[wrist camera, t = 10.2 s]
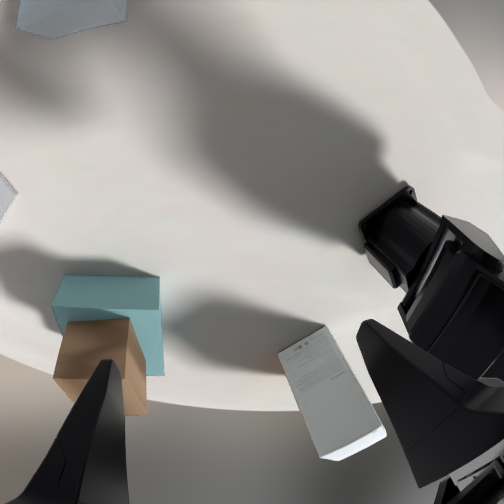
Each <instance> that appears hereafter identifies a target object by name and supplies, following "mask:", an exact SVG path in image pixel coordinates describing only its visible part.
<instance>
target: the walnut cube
mask: <svg viewBox="0 0 504 504" xmlns="http://www.w3.org/2000/svg"><path fill="white" fill-rule="evenodd" d="M109 358H111V359H113V360H114V361H115V363H116V365H117V367H118V369H119V371H120V373H121V378H122V391H123V402H124V412H125V416H140V415H141V416H143V415H147V404H146V403H147V402H146V359H145V357H144V354H143V352H142V349H141V347H140V344H139V342H138V339H137V336H136V334H135V331H134V328H133V326H132V323H131V320H130V318H122V319H108V320H91V321H69V322H67V326H66V329H65V332H64V336H63V339H62V343H61V347H60V351H59V354H58V358H57V362H56V367H55V371H54V375H53V379H54V380H55V381H56V383H57V384H58V385H59V386H60V387H61V389H62V390H63V391H64V392H65V393H66V395H67V396H68V397H69V398H70V399H71V400H72V401H73V402H74V404H75V402H76V400H77V398H78V397H79V395H80V393H81V392H82V390H83V388H84V386H85V385H86V383H87V381H88V380H89V378H90V377H91V375H92V373H93V372H94V370H95V368H96V367H97V365H98V364H99V362H100V360H102V359H109Z"/></svg>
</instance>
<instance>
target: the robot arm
mask: <svg viewBox="0 0 504 504" xmlns="http://www.w3.org/2000/svg"><path fill="white" fill-rule="evenodd" d="M364 225H365V226H364ZM358 227H359V230H360V232H361V234H362V237H363V239H364V242H365V244H364V249H365V252H366V254H367V257H368V259H369V261H370V264H371V265H372V266H373V267H374V268H375V269H376V270H377V271H378V272H379V273H380V274H381V275H382V276H383V278H384V279H385V280H386V281H387V282H388V283H389V284H390V285H391V286H392V287H393V288H398V287H399V286H400V287H401V288H402V289H403V290H404V291H405V292H406V295H405V297H404V299H403V301H402V302H400V304H399V306H398V311H399V313H400V315H401V318H402V320H403V322H404V325H405V327H406V329H407V332H408V334H409V339H410V340H411V342H412V343H411V342H410V341H408V340H406V339H405V338H403V337H401V336H400V335H398V334H397V333H395V332H393V331H392V330H390V329H388V328H387V327H385V326H383V325H382V324H380V323H378V322H377V321H375V320H373V319H369V320H365V321H363V322H362V323H361V326H360V328H359V330H358V333H357V336H356V339H357V343H358V345H359V348H360V351H361V354H362V356H363V359H364V362H365V365H366V368H367V370H368V373H369V375H370V377H371V379H372V381H373V383H374V386H375V388H376V390H377V392H378V394H379V396H380V398H381V401H382V403H383V405H384V407H385V409H386V411H387V414H388V416H389V418H390V420H391V423H392V425H393V427H394V429H395V432H396V434H397V436H398V439H399V441H400V443H401V445H402V448H403V450H404V453H405V456H406V458H407V460H408V462H409V465H410V468H411V470H412V473H413V475H414V477H415V480H416V483H417V485H418V487H419V488H422V487H424V486H426V485H428V484H430V483H432V482H435V481H437V480H439V479H440V478H442V477H444V476H446V475H448V474H449V476H448V477H447V478H446V479H444V480H443V481H442V482H440V484H439V488H438V492H437V495H436V498H435V501H434V504H504V387H491V386H488V385H485V384H483V383H481V382H479V381H478V380H479V379H480V378H489V379H498V380H500V381H501V382H503V383H504V255H503V254H502V252H501V251H500V250H499V248H498V247H497V246H496V244H495V243H494V242H493V240H492V239H491V238H490V237H489V235H488V234H486V233H485V232H484V231H482V230H480V229H479V228H477V227H476V226H474V225H473V224H471V223H469V222H467V221H464V220H460V219H457V218H453V217H449V216H446V215H442V218H441V217H440V216H438V215H437V214H435V213H434V212H432V211H431V210H429V209H428V208H426V207H425V206H423V205H422V204H420V203H419V202H417V198H416V194H415V190H414V188H413V187H411V186H406V187H405V188H404V189H403V190H401V191H400V192H399V193H397V194H396V195H395V196H394V197H392V198H391V199H390V200H388V201H387V202H386V203H384V204H383V205H382V206H380V207H379V208H378V209H376V210H375V211H374V212H372V213H371V214H370V215H368V216H367V217H366V218H364V219H363V220H362V221H361V222H360V223H359V226H358ZM125 447H126V446H125V412H124V402H123V391H122V378H121V373H120V371H119V369H118V367H117V365H116V363H115V361H114V360H113V359H111V358H109V359H102V360H100V362H99V364H98V365H97V367H96V368H95V370H94V372H93V373H92V375H91V377H90V378H89V380H88V381H87V383H86V385H85V386H84V388H83V390H82V392H81V393H80V395H79V397H78V398H77V400H76V402H75V404H74V406H73V407H72V409H71V411H70V413H69V414H68V416H67V418H66V420H65V422H64V423H63V425H62V427H61V429H60V431H59V432H58V434H57V438H55V440H54V442H53V444H52V446H51V447H50V449H49V451H48V453H47V455H46V457H45V458H44V460H43V461H42V463H41V465H40V466H39V468H38V469H37V471H36V472H35V474H34V475H33V477H32V479H31V480H30V482H29V483H28V485H27V486H26V488H25V489H24V491H23V492H22V493H21V494H20V495H19V496H18V497H16V498H15V499H13V500H11V501H9V502H7V503H5V504H129V493H128V483H127V468H126V448H125Z"/></svg>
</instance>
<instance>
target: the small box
mask: <svg viewBox="0 0 504 504" xmlns="http://www.w3.org/2000/svg"><path fill="white" fill-rule="evenodd" d="M277 355H278V358H279V360H280V363H281V365H282V368H283V370H284V373H285V375H286V377H287V380H288V382H289V385H290V387H291V390H292V392H293V395H294V397H295V400H296V402H297V405H298V407H299V410H300V412H301V414H302V417H303V419H304V422H305V424H306V427H307V429H308V431H309V434H310V436H311V439H312V441H313V444H314V446H315V449H316V451H317V454H318V456H319V458H324V459H330V460H335V461H339V460H342V459H344V458H346V457H348V456H350V455H352V454H354V453H356V452H358V451H360V450H362V449H364V448H366V447H368V446H370V445H372V444H374V443H376V442H377V441H379V440H381V439H383V438H385V437H386V436H387V435H386V430H385V428H384V427H383V425H382V423H381V421H380V419H379V417H378V416H377V414H376V412H375V410H374V408H373V406H372V404H371V403H370V401H369V399H368V397H367V395H366V394H365V392H364V390H363V388H362V386H361V385H360V383H359V381H358V379H357V377H356V376H355V374H354V372H353V370H352V368H351V367H350V365H349V363H348V361H347V360H346V358H345V356H344V354H343V352H342V351H341V349H340V347H339V345H338V344H337V342H336V340H335V339H334V337H333V335H332V334H331V332H330V330H329V329H328V327H327V326H325V327H323V328H321V329H319V330H318V331H316V332H314V333H313V334H311V335H309V336H308V337H306V338H304V339H302V340H301V341H299V342H297V343H295V344H293V345H292V346H290V347H288V348H287V349H285V350H283V351H281V352H279V353H278V354H277Z"/></svg>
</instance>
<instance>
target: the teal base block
mask: <svg viewBox="0 0 504 504" xmlns="http://www.w3.org/2000/svg"><path fill="white" fill-rule="evenodd" d="M51 306H52V309H53V312H54V315H55V318H56V320H57V323H58V326H59V328H60V331H61V333H62V336H64V332H65V329H66V326H67V322H69V321H91V320H108V319H122V318H130V320H131V323H132V326H133V328H134V331H135V334H136V336H137V339H138V342H139V344H140V347H141V349H142V352H143V354H144V357H145V359H146V376H164V357H163V338H162V323H161V304H160V277H131V276H92V275H64V277H63V279H62V281H61V283H60V286H59V288H58V290H57V293H56V295H55V298H54V300H53V303H52V305H51Z"/></svg>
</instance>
